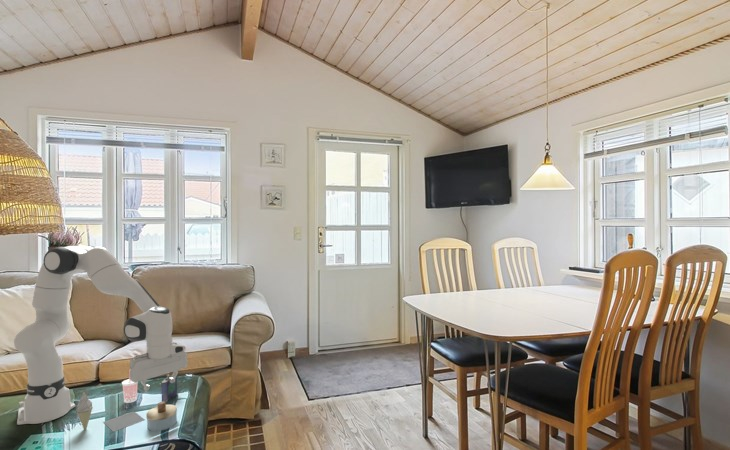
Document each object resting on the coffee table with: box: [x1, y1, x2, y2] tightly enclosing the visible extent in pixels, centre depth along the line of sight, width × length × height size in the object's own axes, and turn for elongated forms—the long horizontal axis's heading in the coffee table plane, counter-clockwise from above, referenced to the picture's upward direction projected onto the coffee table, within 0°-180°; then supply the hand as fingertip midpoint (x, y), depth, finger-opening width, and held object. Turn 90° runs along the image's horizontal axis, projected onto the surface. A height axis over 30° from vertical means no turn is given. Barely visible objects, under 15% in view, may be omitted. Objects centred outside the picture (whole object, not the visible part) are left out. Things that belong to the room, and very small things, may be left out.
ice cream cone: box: [75, 391, 94, 431], centre depth 151 cm, size 5×5×15 cm
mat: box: [103, 410, 145, 433], centre depth 156 cm, size 11×11×1 cm
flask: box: [160, 373, 178, 402], centre depth 176 cm, size 9×3×11 cm, turn 172°
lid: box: [145, 401, 178, 421], centre depth 154 cm, size 10×10×4 cm
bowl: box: [146, 411, 178, 432], centre depth 154 cm, size 10×10×4 cm
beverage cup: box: [121, 369, 139, 404], centre depth 174 cm, size 6×6×14 cm
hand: (159, 386), depth 153 cm, fingers open, 8 cm apart
